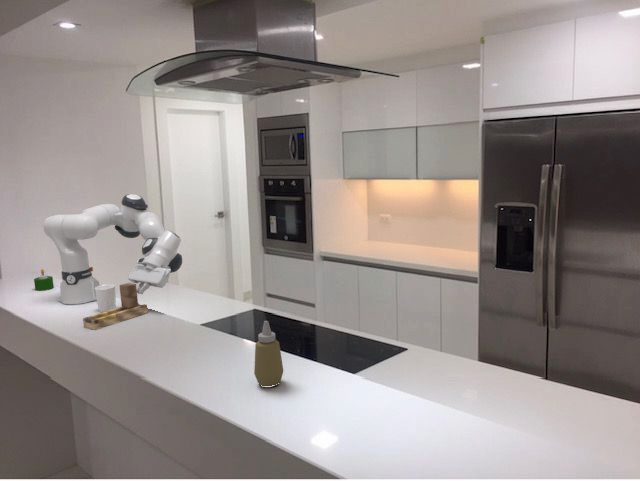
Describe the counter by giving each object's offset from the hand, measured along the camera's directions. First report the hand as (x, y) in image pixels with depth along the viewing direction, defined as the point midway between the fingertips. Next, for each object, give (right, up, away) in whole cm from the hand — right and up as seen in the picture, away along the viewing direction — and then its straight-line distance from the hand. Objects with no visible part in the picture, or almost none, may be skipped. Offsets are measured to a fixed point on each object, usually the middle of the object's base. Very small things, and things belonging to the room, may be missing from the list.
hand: (138, 293), depth 222 cm
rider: (-3, -6, -2) cm, 7 cm away
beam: (-6, -10, -7) cm, 14 cm away
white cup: (-16, -8, +7) cm, 19 cm away
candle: (-63, -3, +49) cm, 79 cm away
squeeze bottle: (+60, -18, -72) cm, 95 cm away
